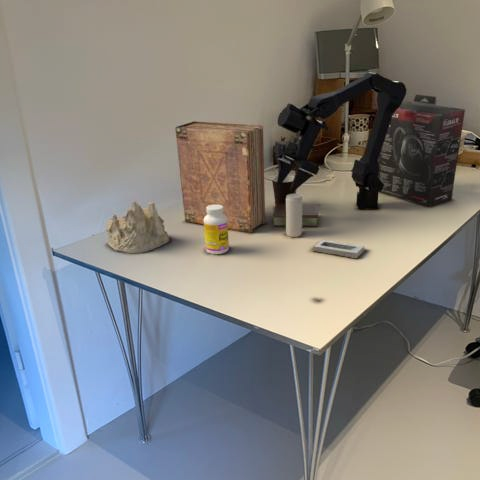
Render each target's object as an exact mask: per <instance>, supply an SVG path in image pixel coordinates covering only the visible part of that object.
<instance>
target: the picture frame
mask: <svg viewBox="0 0 480 480" xmlns="http://www.w3.org/2000/svg"><path fill="white" fill-rule="evenodd" d="M311 251H313V252H318V253H324V254H328V255H337V256H341V257H347V258H352V259H357V258H358V257H360V256H361V255H362V254H364V252H365V251H366V249H365V246H364V245H359V244H353V243H346V242H340V241H333V240H327V239H321V240H320V241H318V242H317V243H316V244H315V245H313V248H312V249H311ZM315 301H320V298H315Z"/></svg>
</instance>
